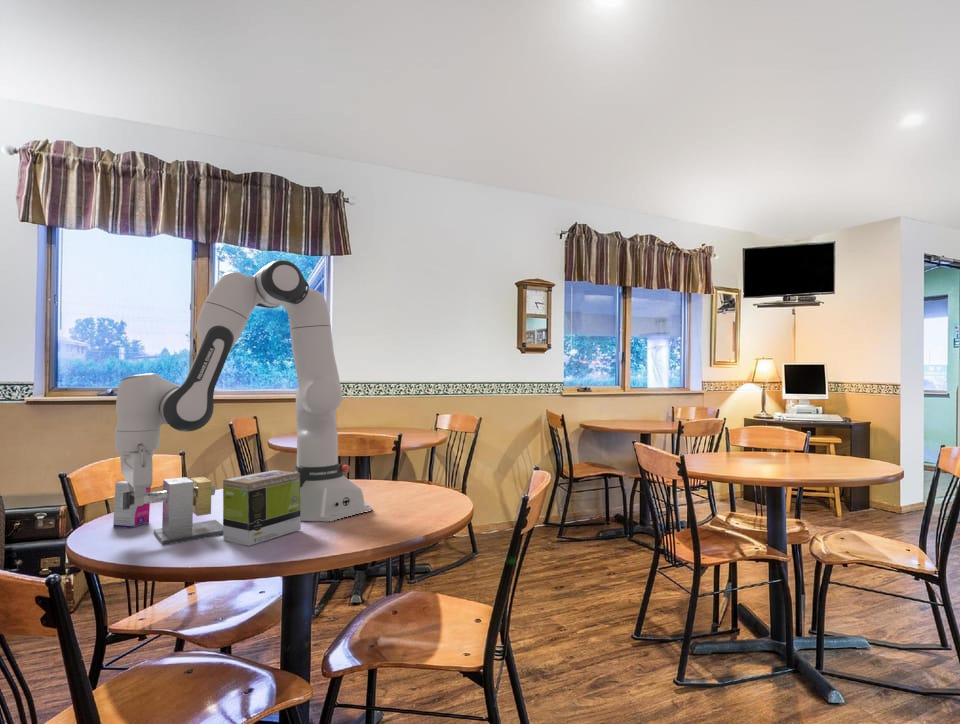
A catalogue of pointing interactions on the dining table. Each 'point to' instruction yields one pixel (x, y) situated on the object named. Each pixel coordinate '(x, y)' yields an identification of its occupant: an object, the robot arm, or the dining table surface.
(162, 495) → the shaft
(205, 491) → the block
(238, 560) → the dining table surface
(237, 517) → the tea box
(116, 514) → the supplement box
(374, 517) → the dining table surface
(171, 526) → the stand
